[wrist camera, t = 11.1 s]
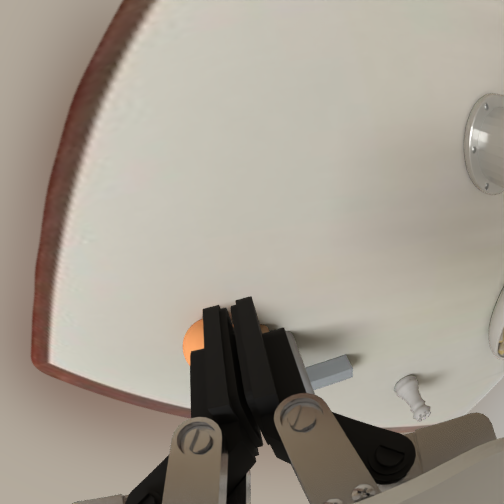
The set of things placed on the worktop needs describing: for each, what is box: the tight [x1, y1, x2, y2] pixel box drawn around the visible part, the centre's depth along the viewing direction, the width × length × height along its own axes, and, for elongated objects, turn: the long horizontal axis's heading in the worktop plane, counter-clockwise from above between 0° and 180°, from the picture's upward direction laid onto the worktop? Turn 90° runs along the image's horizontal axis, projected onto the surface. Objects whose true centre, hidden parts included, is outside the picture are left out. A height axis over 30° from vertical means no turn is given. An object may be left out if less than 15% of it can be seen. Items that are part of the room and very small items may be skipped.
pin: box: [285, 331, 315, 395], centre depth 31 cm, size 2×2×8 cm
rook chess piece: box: [394, 375, 431, 422], centre depth 41 cm, size 4×4×8 cm
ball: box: [183, 319, 234, 365], centre depth 30 cm, size 6×6×6 cm
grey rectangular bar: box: [305, 355, 353, 390], centre depth 37 cm, size 20×2×2 cm, turn 103°
